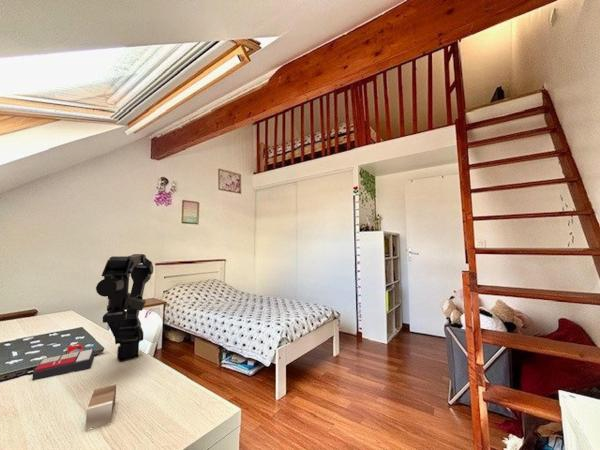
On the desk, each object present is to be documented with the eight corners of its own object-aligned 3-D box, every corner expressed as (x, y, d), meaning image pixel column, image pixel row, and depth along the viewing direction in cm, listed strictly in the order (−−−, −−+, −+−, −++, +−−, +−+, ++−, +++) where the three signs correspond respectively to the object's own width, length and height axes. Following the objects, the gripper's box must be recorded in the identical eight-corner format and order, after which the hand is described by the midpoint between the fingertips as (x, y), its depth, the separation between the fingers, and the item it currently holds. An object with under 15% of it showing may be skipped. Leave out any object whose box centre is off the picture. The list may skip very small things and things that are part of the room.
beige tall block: (94, 389, 70) (86, 409, 61) (116, 384, 73) (112, 402, 64) (93, 408, 70) (85, 430, 61) (115, 402, 72) (110, 423, 64)
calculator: (42, 358, 93) (94, 347, 101) (41, 370, 92) (94, 358, 101) (32, 370, 84) (90, 357, 92) (31, 383, 83) (90, 369, 92)
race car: (84, 359, 100) (85, 349, 100) (66, 363, 96) (67, 352, 96) (82, 349, 109) (83, 339, 110) (65, 352, 106) (66, 343, 106)
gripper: (144, 293, 86) (141, 340, 85) (145, 286, 102) (143, 325, 101) (104, 296, 81) (100, 346, 79) (111, 288, 97) (108, 330, 95)
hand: (115, 336), depth 89 cm, fingers closed
